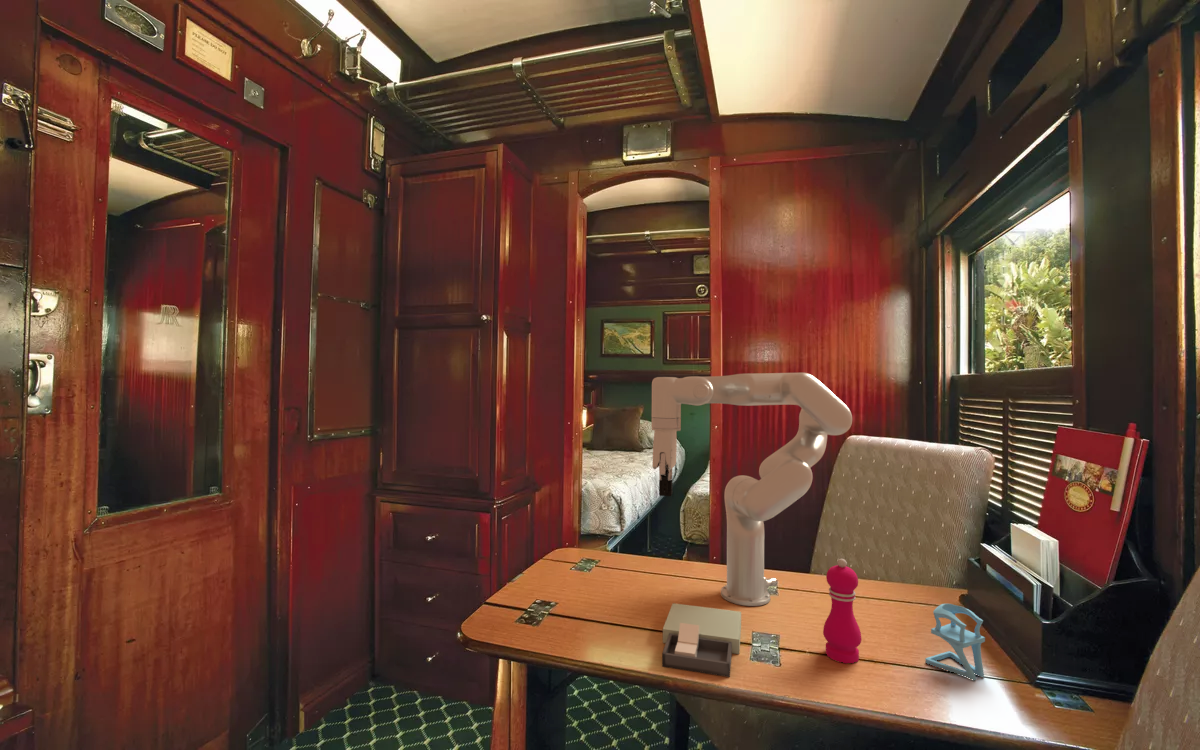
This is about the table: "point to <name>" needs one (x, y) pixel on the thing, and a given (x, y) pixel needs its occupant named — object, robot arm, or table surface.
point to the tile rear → (689, 633)
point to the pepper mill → (842, 615)
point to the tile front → (686, 649)
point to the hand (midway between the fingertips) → (665, 495)
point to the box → (700, 656)
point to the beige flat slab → (706, 623)
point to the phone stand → (958, 640)
